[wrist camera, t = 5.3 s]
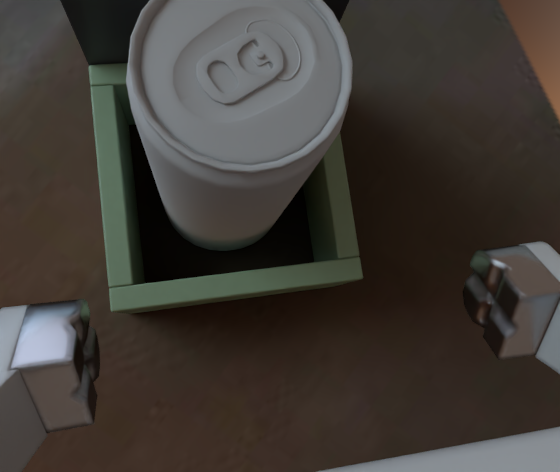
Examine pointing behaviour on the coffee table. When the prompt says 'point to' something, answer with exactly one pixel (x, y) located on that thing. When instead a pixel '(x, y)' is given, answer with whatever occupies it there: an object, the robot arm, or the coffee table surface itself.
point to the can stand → (122, 194)
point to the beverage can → (235, 108)
